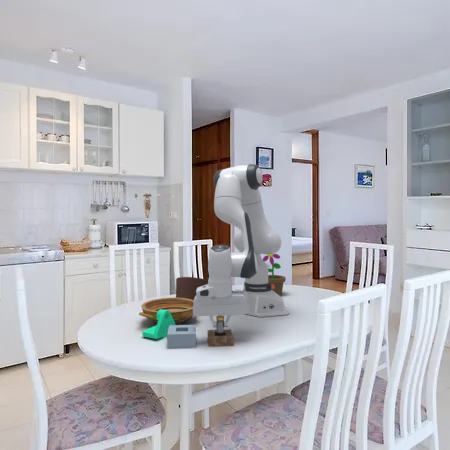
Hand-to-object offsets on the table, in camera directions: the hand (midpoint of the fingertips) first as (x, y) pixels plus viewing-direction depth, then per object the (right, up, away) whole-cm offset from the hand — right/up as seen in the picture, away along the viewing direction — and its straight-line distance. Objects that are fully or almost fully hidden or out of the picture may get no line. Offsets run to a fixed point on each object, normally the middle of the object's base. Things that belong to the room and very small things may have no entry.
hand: (220, 326), depth 136 cm
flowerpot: (+29, -3, +74) cm, 79 cm away
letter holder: (-13, -3, +58) cm, 59 cm away
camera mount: (-24, -6, +8) cm, 26 cm away
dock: (-14, -6, -1) cm, 15 cm away
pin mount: (0, -6, 0) cm, 6 cm away
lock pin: (0, -6, 0) cm, 6 cm away
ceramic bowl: (-22, -5, +23) cm, 32 cm away
